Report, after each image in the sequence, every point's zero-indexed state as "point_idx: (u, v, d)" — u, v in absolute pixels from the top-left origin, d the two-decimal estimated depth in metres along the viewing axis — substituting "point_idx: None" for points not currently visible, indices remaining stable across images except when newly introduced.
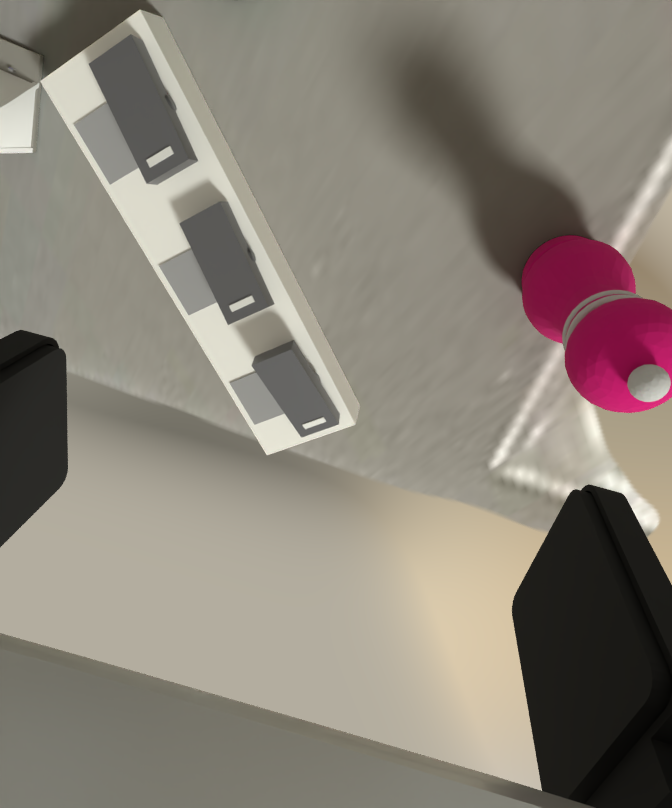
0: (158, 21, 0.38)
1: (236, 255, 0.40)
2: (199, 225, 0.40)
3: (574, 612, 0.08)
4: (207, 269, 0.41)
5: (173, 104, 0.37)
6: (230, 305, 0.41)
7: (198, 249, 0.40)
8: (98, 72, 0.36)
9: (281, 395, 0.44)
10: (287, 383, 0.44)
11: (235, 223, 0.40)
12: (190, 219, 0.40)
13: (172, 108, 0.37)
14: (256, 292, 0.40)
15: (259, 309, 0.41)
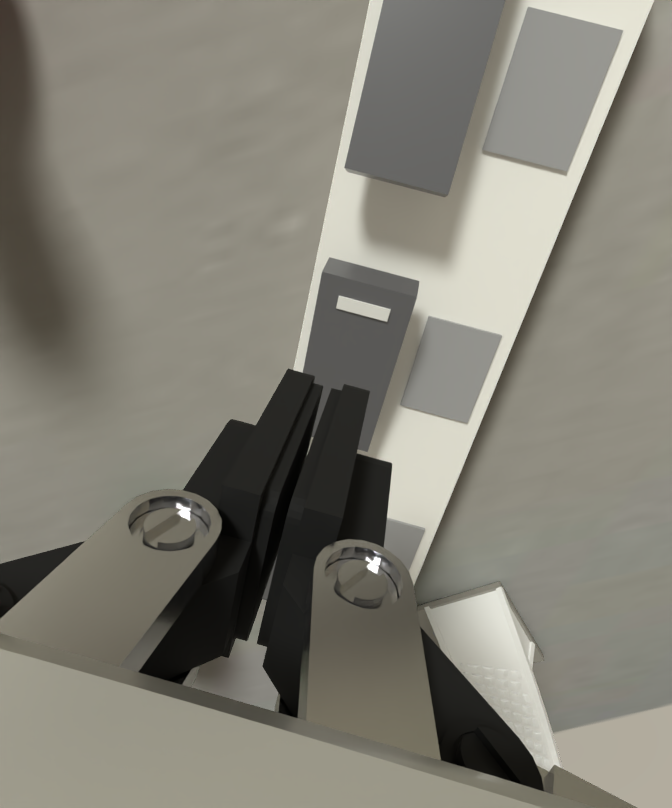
0: None
1: (317, 368, 0.23)
2: None
3: None
4: (377, 385, 0.23)
5: None
6: (383, 320, 0.21)
7: (368, 412, 0.24)
8: None
9: (459, 75, 0.17)
10: (420, 96, 0.18)
11: None
12: None
13: None
14: (325, 305, 0.21)
15: (340, 279, 0.20)
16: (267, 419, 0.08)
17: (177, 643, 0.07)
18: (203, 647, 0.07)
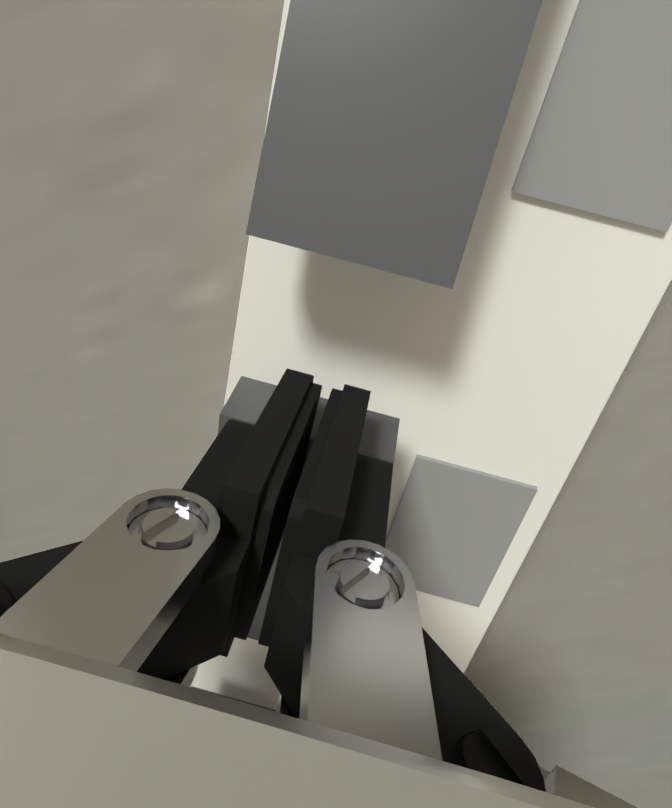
0: None
1: None
2: None
3: None
4: None
5: None
6: None
7: None
8: None
9: (477, 48, 0.08)
10: (394, 91, 0.08)
11: None
12: None
13: None
14: None
15: None
16: (266, 418, 0.09)
17: (176, 642, 0.07)
18: (202, 646, 0.07)
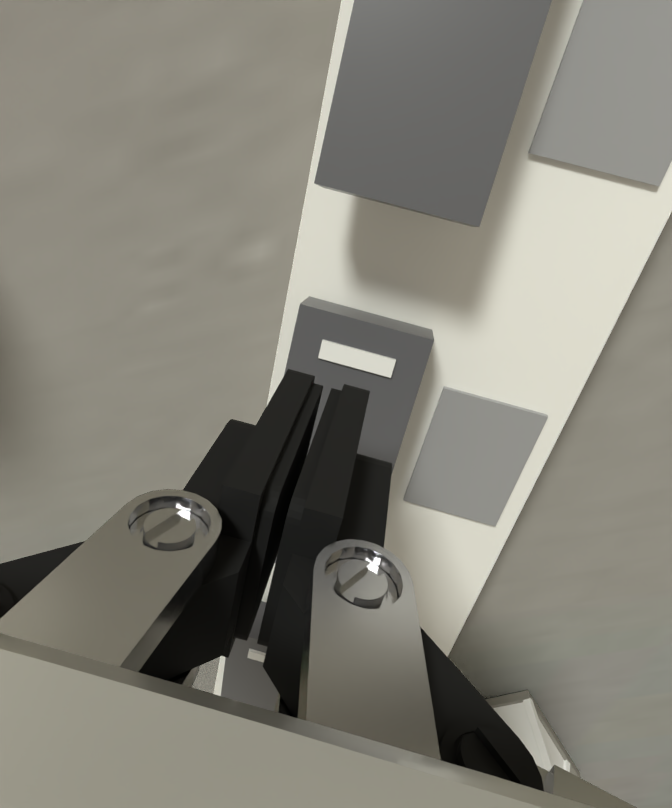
0: None
1: None
2: None
3: None
4: None
5: None
6: (386, 374, 0.15)
7: None
8: None
9: (502, 31, 0.10)
10: (436, 66, 0.11)
11: None
12: None
13: None
14: (303, 354, 0.15)
15: (326, 314, 0.14)
16: (267, 419, 0.08)
17: (177, 643, 0.07)
18: (204, 647, 0.07)
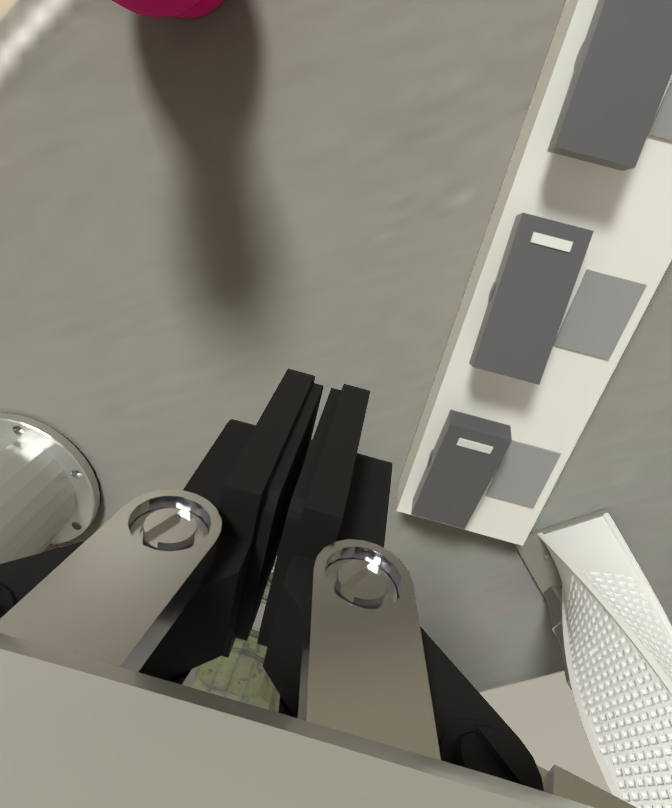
0: (399, 487, 0.40)
1: (506, 299, 0.28)
2: (518, 363, 0.29)
3: None
4: (555, 313, 0.28)
5: (430, 454, 0.35)
6: (567, 250, 0.27)
7: (544, 342, 0.29)
8: (462, 520, 0.36)
9: (652, 76, 0.23)
10: (620, 92, 0.23)
11: (479, 335, 0.30)
12: (522, 377, 0.29)
13: (432, 455, 0.34)
14: (521, 240, 0.28)
15: (536, 218, 0.27)
16: (267, 419, 0.08)
17: (177, 643, 0.07)
18: (203, 647, 0.07)
